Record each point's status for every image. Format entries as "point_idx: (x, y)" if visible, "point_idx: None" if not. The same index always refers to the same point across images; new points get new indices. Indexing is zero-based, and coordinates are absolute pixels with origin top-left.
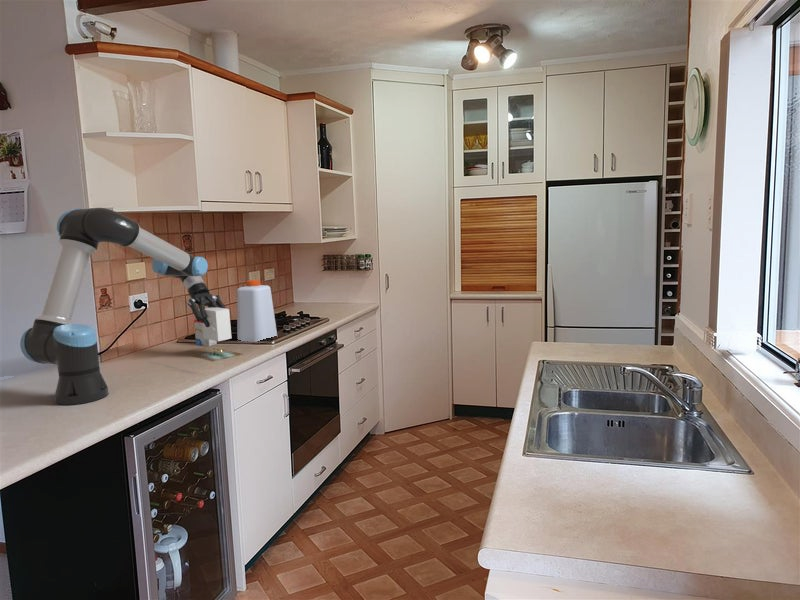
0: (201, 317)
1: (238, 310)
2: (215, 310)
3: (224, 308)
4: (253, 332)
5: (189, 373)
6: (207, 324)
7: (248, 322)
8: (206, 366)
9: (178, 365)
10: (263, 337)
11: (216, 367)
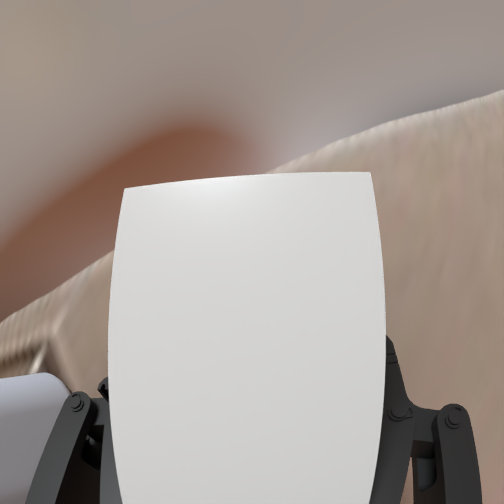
0: (430, 421)
1: (4, 501)
2: (332, 252)
3: (115, 307)
4: (44, 410)
5: (467, 210)
6: (387, 339)
7: (21, 439)
8: (398, 250)
9: (450, 365)
10: (41, 376)
11: (379, 202)
